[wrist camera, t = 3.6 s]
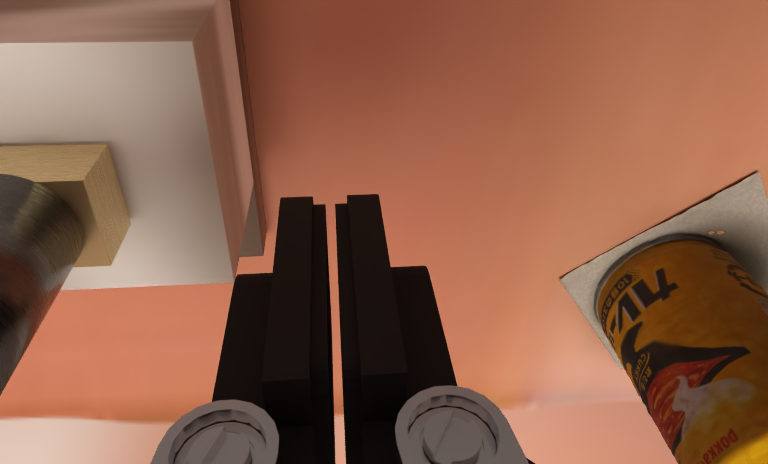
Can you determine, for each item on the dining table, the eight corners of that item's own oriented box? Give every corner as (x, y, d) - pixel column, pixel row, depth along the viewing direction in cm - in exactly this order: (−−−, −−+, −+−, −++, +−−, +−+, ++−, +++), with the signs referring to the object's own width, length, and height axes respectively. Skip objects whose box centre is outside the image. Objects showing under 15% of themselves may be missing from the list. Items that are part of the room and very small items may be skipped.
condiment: (557, 276, 24) (719, 580, 14) (756, 169, 22) (1109, 443, 12) (618, 365, 28) (779, 654, 18) (793, 281, 26) (1086, 560, 16)
